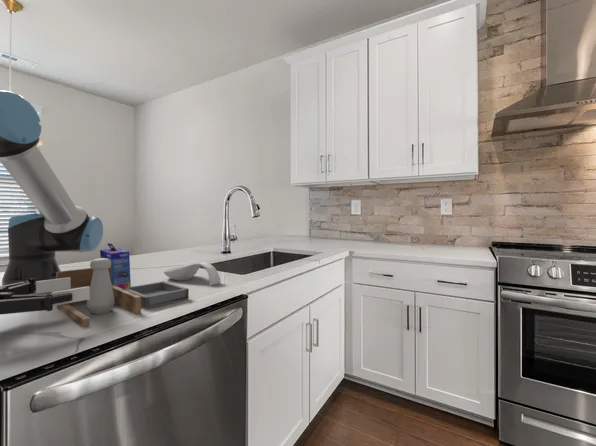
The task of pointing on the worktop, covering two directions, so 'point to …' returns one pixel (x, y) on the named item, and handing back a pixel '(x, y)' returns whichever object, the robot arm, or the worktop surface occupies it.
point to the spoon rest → (193, 272)
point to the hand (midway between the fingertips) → (79, 287)
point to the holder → (84, 280)
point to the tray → (159, 293)
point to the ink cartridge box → (118, 266)
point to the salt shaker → (100, 287)
